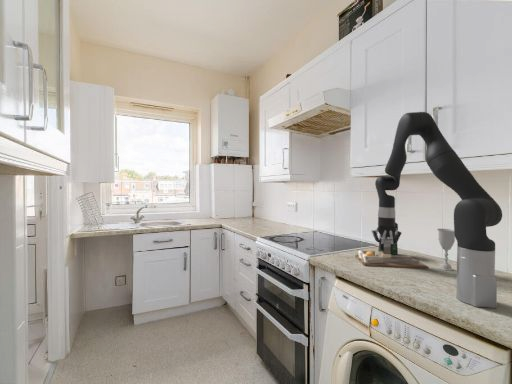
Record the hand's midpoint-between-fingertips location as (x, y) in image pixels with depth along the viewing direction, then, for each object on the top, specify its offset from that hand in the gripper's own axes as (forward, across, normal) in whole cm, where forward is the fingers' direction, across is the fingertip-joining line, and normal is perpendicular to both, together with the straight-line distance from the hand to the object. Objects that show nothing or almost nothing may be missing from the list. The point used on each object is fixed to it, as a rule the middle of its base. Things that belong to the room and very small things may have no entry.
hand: (386, 250), depth 124 cm
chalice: (+6, +24, -7) cm, 25 cm away
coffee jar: (+6, +8, +17) cm, 19 cm away
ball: (+3, -8, 0) cm, 8 cm away
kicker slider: (+4, 0, 0) cm, 4 cm away
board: (+6, +2, 0) cm, 6 cm away
